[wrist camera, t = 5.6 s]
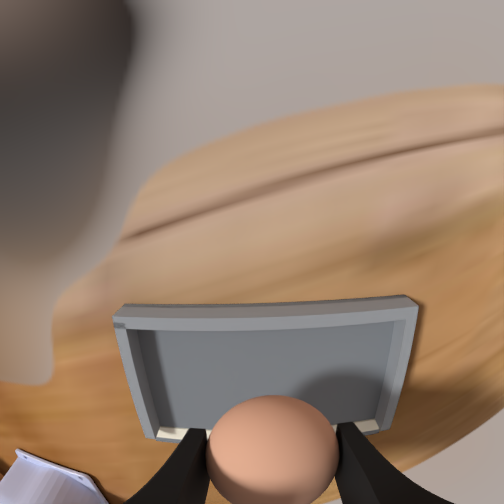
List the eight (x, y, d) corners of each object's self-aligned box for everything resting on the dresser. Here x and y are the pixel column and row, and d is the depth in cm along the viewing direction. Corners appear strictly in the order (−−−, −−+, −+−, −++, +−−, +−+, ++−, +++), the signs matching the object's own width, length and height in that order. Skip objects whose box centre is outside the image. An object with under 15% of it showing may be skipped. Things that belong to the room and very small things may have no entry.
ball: (218, 449, 13) (207, 531, 8) (207, 370, 12) (183, 465, 7) (321, 445, 13) (338, 526, 8) (332, 366, 11) (366, 457, 7)
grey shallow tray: (157, 436, 16) (151, 453, 15) (124, 303, 14) (112, 316, 13) (376, 429, 16) (384, 445, 14) (404, 294, 14) (418, 306, 12)
